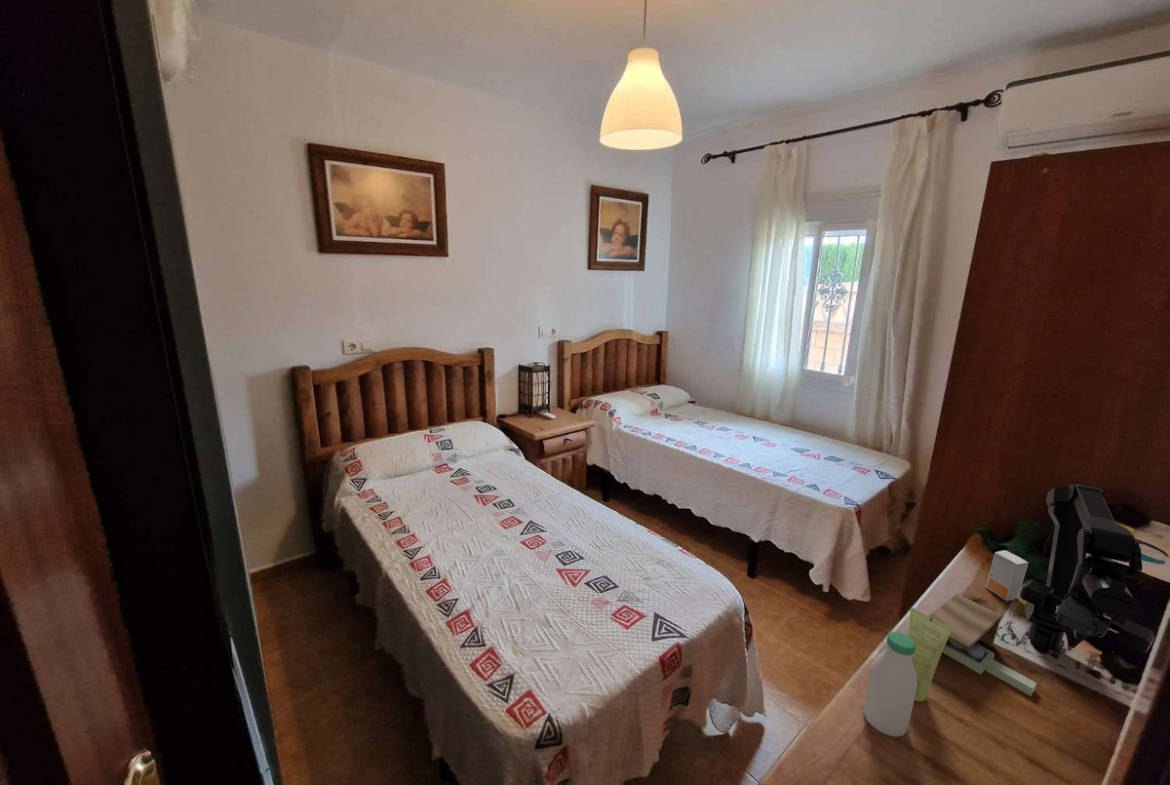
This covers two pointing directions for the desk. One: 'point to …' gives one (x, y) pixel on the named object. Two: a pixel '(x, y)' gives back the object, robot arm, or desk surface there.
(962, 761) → the desk surface
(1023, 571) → the skincare box
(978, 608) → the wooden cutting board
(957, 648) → the grey rounded lump
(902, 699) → the milk bottle
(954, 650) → the tray
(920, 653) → the tube
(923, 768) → the desk surface
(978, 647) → the grey rounded lump
